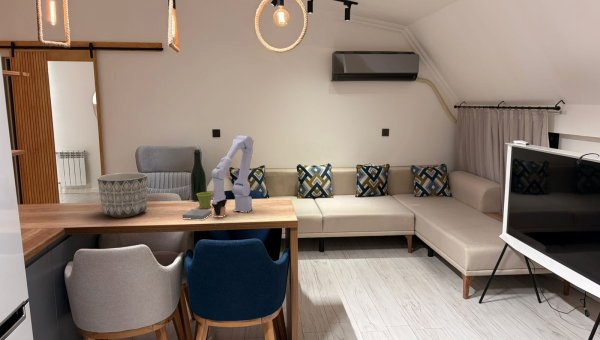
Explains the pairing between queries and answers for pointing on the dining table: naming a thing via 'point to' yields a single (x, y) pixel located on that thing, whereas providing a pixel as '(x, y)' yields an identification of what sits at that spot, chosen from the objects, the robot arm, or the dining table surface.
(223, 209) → the terracotta cube
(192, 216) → the slate plinth
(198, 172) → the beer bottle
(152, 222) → the dining table surface
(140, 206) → the planter
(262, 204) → the dining table surface
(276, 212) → the dining table surface
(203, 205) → the plant pot
